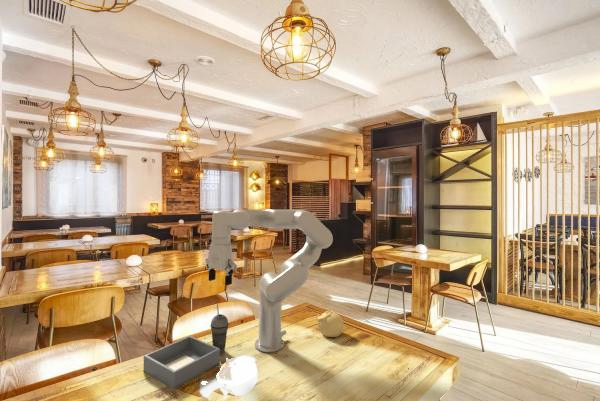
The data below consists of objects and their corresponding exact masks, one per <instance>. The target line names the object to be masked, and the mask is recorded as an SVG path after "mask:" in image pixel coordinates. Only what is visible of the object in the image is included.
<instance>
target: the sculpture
mask: <svg viewBox="0 0 600 401" xmlns="http://www.w3.org/2000/svg"><path fill="white" fill-rule="evenodd" d="M316 320H317V322H316V323H317V327H318V328H319V329H318V330H319V331H320V333H321V334H322V335H323V336H324V337H328V338H337V337H339V336H340V335H342V333H343V331H344V326H345V325H344V321H343V320H344V319H343V318H342V317H341V315H340V314H338V313H337V312H335V310H331V311H329V310H325V311H324V312H323V313H322V314H321V315H320V316H318V317H317V319H316Z"/></svg>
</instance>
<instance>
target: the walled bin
mask: <svg viewBox="0 0 600 401" xmlns="http://www.w3.org/2000/svg"><path fill="white" fill-rule="evenodd" d="M220 356H221V355H220V349H219V348H217V347H215V346H213V344H210V343H207V342H206V341H203V340H201V339H199V338H197V337H194V336H193V335H188V336H186V337H184V338H182V339H179V340H177V341H174V342H172V343H170V344H167V345H165V346H162V347H161V348H160V347H159V348H158V349H155V350H154V351H152V352H149V353H147V354H144V355H143V373H145V374H146V375H148V376H149V377H151V378H153V379H154V380H156V381H158V382H160V383H161V384H163V385H164V386H166V387H168V388H169V389H171V390H173V391H175V390H176V389H179V388H181V387H182V386H184V385H185V384H187V383H188V382H191V381H193V380H194V379H196V378H198V377H199V376H201V375H203V374H205V373H206V372H209V371H210V370H211V369H213V368H215V367H217V366H219V365H220V360H221V359H220V358H221V357H220Z"/></svg>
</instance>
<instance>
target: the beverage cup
mask: <svg viewBox="0 0 600 401" xmlns="http://www.w3.org/2000/svg"><path fill="white" fill-rule="evenodd" d="M216 310H217V314H216V315H215V316H213V318H212V319H211V321H210V330H211V338H212V340H211V341H212V345H213V346H215V347H217V348H219V349H220V356H221V355H223V354H224V353H225V351H226V345H227V344H226V343H227V335H228V328H229V320H228V317H226V315H225V314H223V313H220V311H219V304H218V303H217V304H216Z"/></svg>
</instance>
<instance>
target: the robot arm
mask: <svg viewBox="0 0 600 401" xmlns="http://www.w3.org/2000/svg"><path fill="white" fill-rule="evenodd" d="M211 217H212V218H211V219H212V221H211V222H212V223H211V224H212V225H211V243H210V244H209V248H208V249H209V250H208V255H207V258H205V264H206V267H207V272H208V281H209V282H212V281H214V280H216V275H217V272H216V270H217V271H224V273H225V276H224V279H225V280H224V285H225V286H231V285H232V284H233V275H234V273H235V272H236V269H237V267H238V265H237V264H236V263H235V262H234V261H233V248H232V244H231V242H232V241H231V239H232V238H231V236H232V229H233V230H234V229H235V230H245V229H247V228H248V227H258V228H259V227H260V228H265V229H269V230H296V229H297V230H300V231H302V233H303V234H304V235H306V236H305V244H304V246H303V247H302V248H301V249H300V250H298V251H297V252H296V253H295V254H293V255H292V256H291V257H289V258H288V259H287V260H285V261H284V262H282V264H281V266H280V274H277V273H275V272H274V271H273V272H272V271H271V272H266V273H264V274H263V275H261V277H260V279H259V283H258V292H259V312H258V316H259V318H258V339H256V341H255V342H254V347H255V348H256V350H258V351H260V352H263V353H275V352H278V351H281V350H282V349H283V348H284V346H285V342H284V340H283V339H282V337H283V336H285V335H286V334H287V330H285V329H283V330H282V309H283V308H282V306H283V304H282V302H283V301H284V300H285V299H287V298H289V296H291V295H292V294H294V293H295V292H296V291H298V289H300V288H302V286H304V285H305V283H306V282H307V281H308V278H309V268H311V267H312V266H313V265H314V264H316V262H317V261H318V260H319V258H320V256H321V254H322V250H324V249H328V248H329V247H330V246H331V245H332V244H333V241H334V238H333V234H332V232H331V230H330V229H329V228H328V227H326V226H325V225H324V223H322V222H321V220H319V219H318V217H317V216H315V215H314V214H313V213H312V212H311V211H308V210H305V209H271V208H270V209H269V208H268V209H235V210H234V211H229V210H214V211H213V212H212V215H211Z"/></svg>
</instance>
